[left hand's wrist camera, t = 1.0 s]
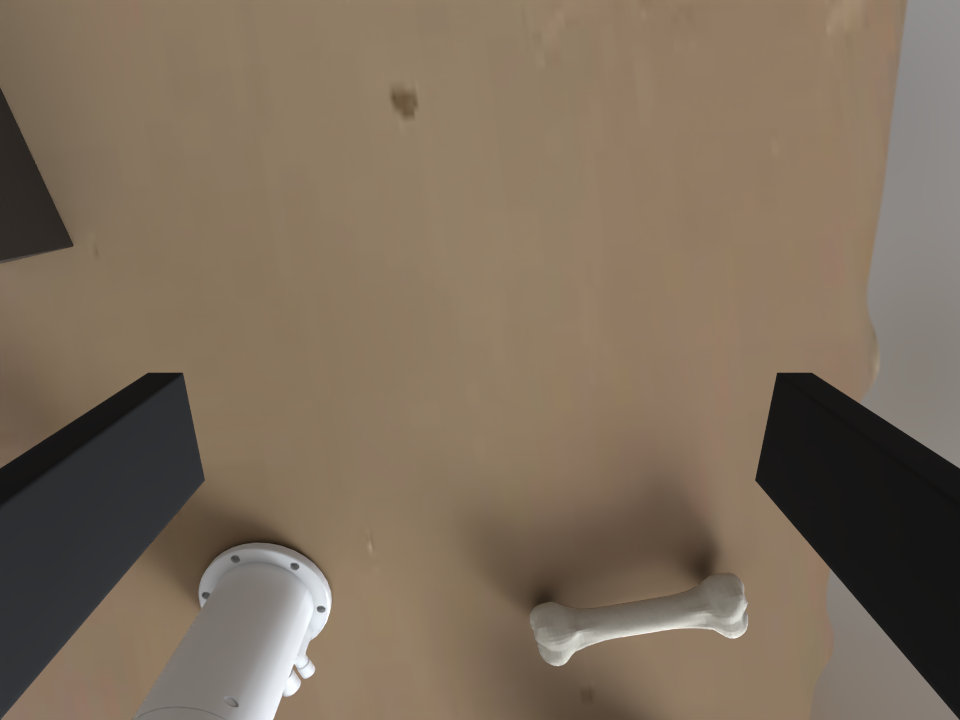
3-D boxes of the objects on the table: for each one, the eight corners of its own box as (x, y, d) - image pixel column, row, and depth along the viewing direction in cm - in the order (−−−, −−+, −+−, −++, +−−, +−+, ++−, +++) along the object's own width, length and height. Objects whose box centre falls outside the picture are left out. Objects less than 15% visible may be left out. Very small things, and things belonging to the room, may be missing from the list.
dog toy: (536, 639, 56) (541, 683, 51) (525, 593, 54) (529, 634, 49) (735, 605, 54) (760, 647, 50) (731, 557, 52) (756, 595, 48)
